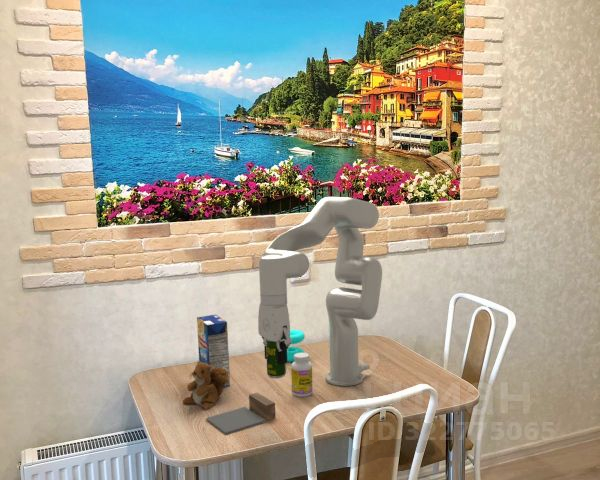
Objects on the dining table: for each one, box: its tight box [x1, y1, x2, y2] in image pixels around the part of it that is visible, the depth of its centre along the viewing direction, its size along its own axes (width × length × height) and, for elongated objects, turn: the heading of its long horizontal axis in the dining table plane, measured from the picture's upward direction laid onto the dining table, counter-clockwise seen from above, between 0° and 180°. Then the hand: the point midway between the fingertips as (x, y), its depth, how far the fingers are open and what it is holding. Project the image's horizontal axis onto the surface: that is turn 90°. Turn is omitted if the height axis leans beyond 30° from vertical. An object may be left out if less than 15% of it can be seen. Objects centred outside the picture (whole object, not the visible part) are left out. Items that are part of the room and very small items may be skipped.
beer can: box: [266, 338, 287, 379], centre depth 182 cm, size 5×5×12 cm
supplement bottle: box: [290, 352, 313, 398], centre depth 204 cm, size 7×7×13 cm
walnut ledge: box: [248, 392, 276, 421], centre depth 191 cm, size 3×10×4 cm, turn 35°
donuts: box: [287, 329, 306, 363], centre depth 238 cm, size 10×10×10 cm
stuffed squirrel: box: [182, 360, 231, 410], centre depth 200 cm, size 10×14×13 cm
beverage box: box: [196, 314, 231, 388], centre depth 215 cm, size 7×11×22 cm, turn 27°
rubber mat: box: [205, 406, 267, 435], centre depth 186 cm, size 13×12×1 cm
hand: (276, 360), depth 183 cm, fingers closed on beer can, 5 cm apart
